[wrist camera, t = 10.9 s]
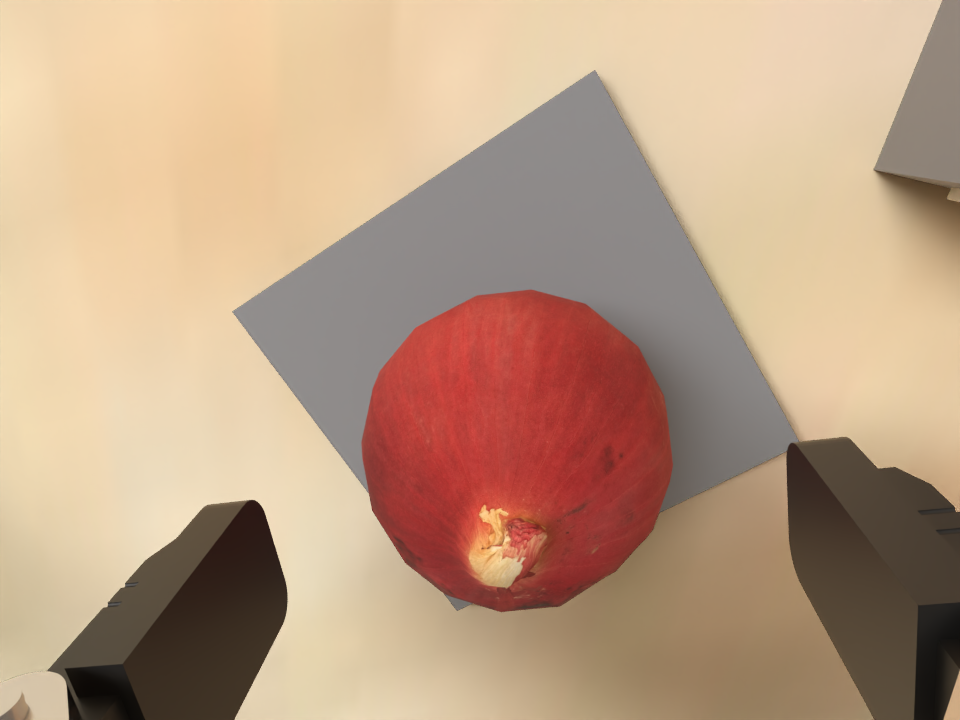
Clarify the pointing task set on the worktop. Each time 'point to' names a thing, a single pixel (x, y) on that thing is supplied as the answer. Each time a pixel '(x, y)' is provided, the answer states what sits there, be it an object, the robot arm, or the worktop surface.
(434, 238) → the mat
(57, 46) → the worktop surface
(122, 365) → the worktop surface
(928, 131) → the marked cube
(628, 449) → the onion
